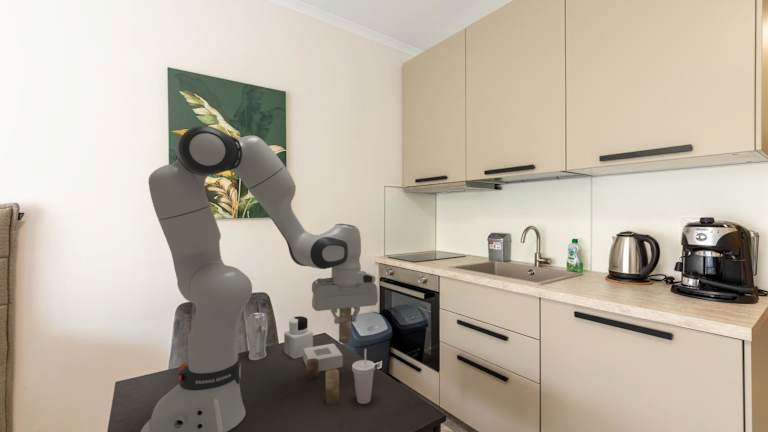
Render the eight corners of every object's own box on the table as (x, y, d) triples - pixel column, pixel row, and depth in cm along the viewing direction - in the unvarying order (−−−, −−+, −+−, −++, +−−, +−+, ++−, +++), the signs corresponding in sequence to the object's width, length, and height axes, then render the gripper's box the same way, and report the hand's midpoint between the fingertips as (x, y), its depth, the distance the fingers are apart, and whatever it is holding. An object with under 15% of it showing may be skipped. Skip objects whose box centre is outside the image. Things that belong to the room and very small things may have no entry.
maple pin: (340, 343, 100) (341, 303, 100) (337, 339, 103) (338, 300, 103) (352, 342, 101) (353, 302, 101) (348, 338, 104) (349, 299, 104)
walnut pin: (308, 380, 103) (308, 364, 103) (305, 375, 106) (305, 359, 106) (319, 378, 104) (319, 362, 104) (317, 373, 107) (317, 357, 107)
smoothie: (372, 407, 88) (372, 354, 88) (349, 405, 89) (348, 353, 89) (377, 394, 94) (377, 345, 94) (355, 392, 95) (355, 343, 95)
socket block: (309, 373, 107) (309, 361, 107) (303, 359, 117) (303, 348, 117) (342, 366, 112) (342, 354, 112) (333, 354, 122) (333, 343, 122)
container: (302, 347, 128) (302, 313, 128) (313, 353, 123) (313, 318, 123) (284, 353, 123) (283, 317, 123) (294, 359, 117) (293, 322, 117)
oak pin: (327, 406, 89) (327, 376, 89) (324, 399, 92) (324, 370, 92) (340, 403, 90) (340, 373, 90) (337, 396, 94) (336, 368, 94)
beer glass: (255, 362, 115) (254, 319, 115) (243, 358, 119) (242, 316, 119) (271, 355, 121) (271, 314, 121) (259, 351, 125) (259, 311, 125)
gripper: (314, 280, 95) (313, 329, 95) (380, 276, 103) (379, 321, 103) (309, 277, 101) (309, 323, 101) (372, 273, 109) (372, 316, 109)
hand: (345, 322), depth 102 cm, fingers closed on maple pin, 4 cm apart
